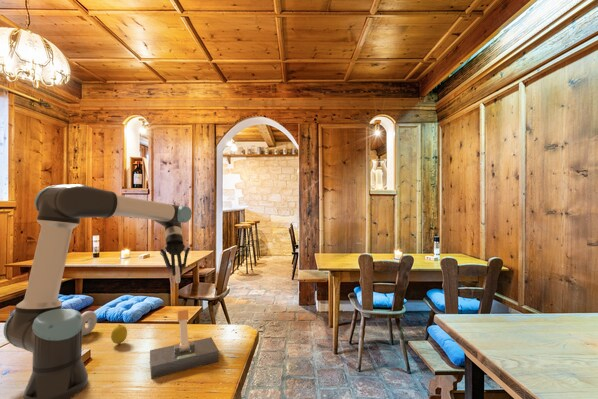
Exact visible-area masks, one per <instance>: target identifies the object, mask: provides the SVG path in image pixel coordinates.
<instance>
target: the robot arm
mask: <svg viewBox="0 0 598 399" xmlns="http://www.w3.org/2000/svg"><path fill="white" fill-rule="evenodd" d="M34 207H35V210H36V211H37V218H36V222H37V223H38V224H39V225H40V230H39V235H38V238H37V239H38V240H37V243H36V248H35V252H34V256H33V260H32V264H31V269H30V273H29V277H28V282H27V285H26V291H25V295H24V298H23V300H22V301H20V302H19V303H17V304H16V305H15V309H14V312H13V313H12V314H11V315H9V317H8V318H7V319H6V321H5V323H4V325H3V335H4V338H5V340H6V341H7V342H8V343H9V344H11V345H12V346H14V347H16V348H19V349H22V350H25V351H28V352H30V353H32V368H31V369H32V371H31V375H30V378H29V380H28V382H27V385H26V387H25V390H24V392H23V399H70V398H72V397H74V396H76V395H77V394H79V393H81V392H82V391H83V390H84V389H85V388H86V386H87V385H88V382H89V378H88V377H89V375H88V371H87V369H86V366H85V364H84V362H83V359H82V345H83V343H82V342H83V336H82V326H83V323H82V316H81V314H82V313H81V312H80V311H78V310H76V309H73V308H62V307H63V303H62V301H61V300H59V294H60V290H61V286H62V281H63V276H64V271H65V267H66V262H67V257H68V252H69V249H70V245H71V243H70V242H71V240H72V239H71V238H72V234H73V230H74V229H75V228H76V227H78V226H79V225H80V221H81V219H88V218H89V219H90V218H102V219H103V218H105V219H110V218H112V217H124V218H131V219H133V218H134V219H135V218H136V219H140V220H141V219H144V220H150V221H151V220H153V221H154V222H156V223H158V224H159V225H160V226H162V227H164V232H165V233H164V234H165V247H164V248H163V249H162V248H161V249H160V251H159V254H160V255H161V256H162V258H163V261H164V264H165V266H166V268H167V270H171V273H172V274H171V275H172V277H175V278H174V279H175V280H174V281H175V284H180V283H181V276H182V275H183V269H185V268H186V265H187V260H188V255H189V253H190V250H191V247H186V246H185V244H184V239H183V238H184V237H183V230H182V223H188V222H189V221H190V220H191V219H192V216H193V215H192V209H191V208H190V207H189V206H187V205H178V204H177V205H176V204H170V203H166V202H158V201H152V200H147V199H142V198H141V199H140V198H135V197H130V196H125V195H124V196H123V195H119V194H118V195H117V193H116V192H115V191H111V190H107V189H102V188H97V187H93V186H89V185H85V184H79V183H78V184H74V183H73V184H61V183H60V184H54V185H49V186H46V187H44V188H43V189H41V190H39V192H38V193H37V194H36V197H35V199H34ZM183 252H184V258H183V262H182V257H181V254H182V253H183ZM167 253H168V254H169V255H170V260H171V262H170V260H169V257H168V254H167ZM175 256H176V258H177V266H176V259H175Z"/></svg>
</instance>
